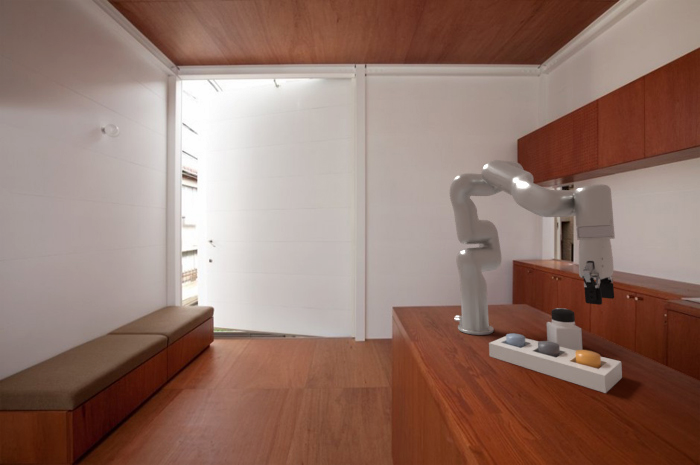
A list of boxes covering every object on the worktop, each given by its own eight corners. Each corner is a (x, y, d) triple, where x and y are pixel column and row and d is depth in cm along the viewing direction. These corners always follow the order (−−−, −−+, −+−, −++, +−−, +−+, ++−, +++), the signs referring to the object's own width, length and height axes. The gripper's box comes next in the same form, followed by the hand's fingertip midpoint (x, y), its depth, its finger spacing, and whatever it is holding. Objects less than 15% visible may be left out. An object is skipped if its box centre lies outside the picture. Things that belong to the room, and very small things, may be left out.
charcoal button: (535, 356, 85) (534, 343, 85) (543, 351, 88) (542, 339, 88) (555, 362, 81) (554, 348, 81) (563, 357, 84) (562, 344, 84)
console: (489, 356, 92) (488, 343, 93) (510, 346, 99) (509, 334, 99) (605, 393, 69) (604, 375, 69) (622, 377, 76) (621, 361, 76)
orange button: (572, 367, 78) (572, 353, 78) (580, 361, 80) (579, 348, 81) (597, 373, 74) (596, 359, 74) (604, 368, 76) (603, 354, 76)
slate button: (503, 347, 92) (502, 335, 92) (511, 343, 95) (511, 332, 95) (520, 352, 88) (519, 340, 88) (528, 348, 91) (528, 336, 91)
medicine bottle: (583, 351, 93) (581, 312, 93) (557, 351, 94) (555, 312, 94) (571, 343, 100) (569, 306, 100) (547, 343, 101) (545, 306, 101)
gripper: (588, 233, 86) (593, 294, 86) (564, 235, 76) (570, 304, 75) (623, 232, 80) (629, 297, 80) (602, 233, 70) (608, 308, 69)
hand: (600, 300), depth 78 cm, fingers open, 9 cm apart
